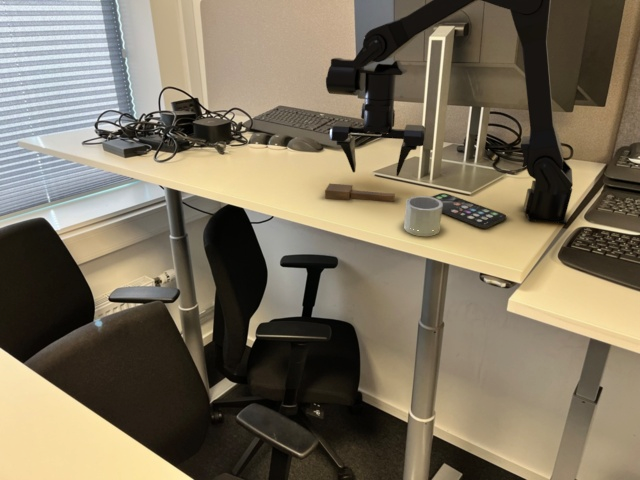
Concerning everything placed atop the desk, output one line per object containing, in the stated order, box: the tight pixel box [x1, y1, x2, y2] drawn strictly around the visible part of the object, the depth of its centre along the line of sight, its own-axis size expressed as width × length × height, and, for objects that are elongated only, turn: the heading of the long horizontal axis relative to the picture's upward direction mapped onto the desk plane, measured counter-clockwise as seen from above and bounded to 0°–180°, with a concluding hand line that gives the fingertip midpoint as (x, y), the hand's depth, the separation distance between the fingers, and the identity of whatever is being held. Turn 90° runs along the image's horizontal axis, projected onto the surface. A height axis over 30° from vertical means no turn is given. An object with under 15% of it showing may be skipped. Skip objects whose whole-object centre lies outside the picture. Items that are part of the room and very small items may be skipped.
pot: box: [403, 195, 443, 237], centre depth 82 cm, size 6×6×5 cm
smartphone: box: [431, 192, 507, 229], centre depth 89 cm, size 7×1×15 cm
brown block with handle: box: [324, 182, 396, 203], centre depth 96 cm, size 14×4×2 cm, turn 76°
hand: (375, 173), depth 98 cm, fingers open, 9 cm apart
